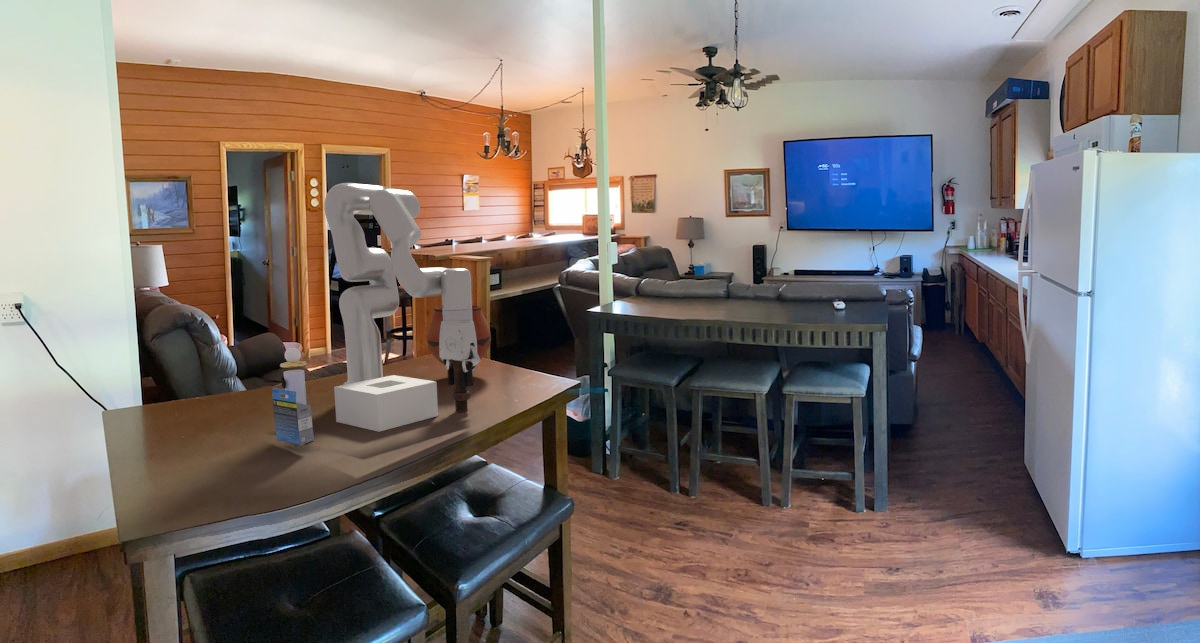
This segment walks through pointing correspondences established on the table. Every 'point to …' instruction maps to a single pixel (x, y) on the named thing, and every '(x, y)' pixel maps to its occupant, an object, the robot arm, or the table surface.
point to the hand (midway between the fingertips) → (460, 384)
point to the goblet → (480, 329)
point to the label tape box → (292, 418)
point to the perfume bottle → (294, 375)
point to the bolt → (459, 388)
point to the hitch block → (386, 402)
